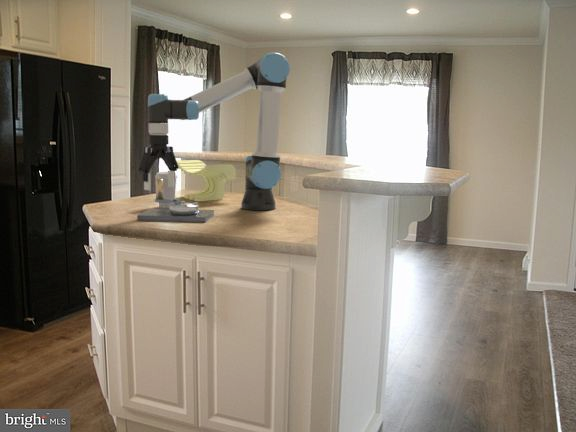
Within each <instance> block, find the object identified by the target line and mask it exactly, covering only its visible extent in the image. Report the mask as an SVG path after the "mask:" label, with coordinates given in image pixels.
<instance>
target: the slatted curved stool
mask: <svg viewBox="0 0 576 432" xmlns="http://www.w3.org/2000/svg"><path fill="white" fill-rule="evenodd" d="M176 161H177V164H178V167H179V168H178V169H179V170H180V171H181V172H183V174H187V175H192V176H197V177H198V176H201V177H202V178H203V180H204V182H205V188H204V189H203V190H202V191H199V192H196V193H195V192H194V193H188V194H187V193H186V194H185V195H184V197H183V199H186V200H190V201H195V202H206V201H207V202H209V201H217V200H219V201H221V200H222V199H223V198H224V196H225V192H226V185H227V181H236V180H237V179H236V177H237V170H236V168H235V166H234V164H232V163H231V164H230V163H227V164H226V163H225V164H223V163H220V164H206V163H205V162H204V161H202V160H200V159H187V160H185V159H184V160H183V159H182V160H176ZM178 169H177V170H178Z"/></svg>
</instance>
